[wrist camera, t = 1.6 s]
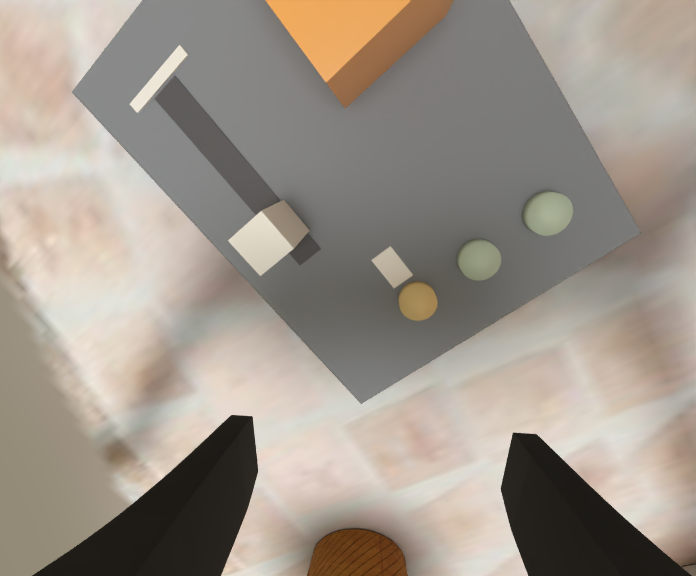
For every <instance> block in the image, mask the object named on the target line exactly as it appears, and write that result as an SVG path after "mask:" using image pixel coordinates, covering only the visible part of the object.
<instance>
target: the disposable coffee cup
mask: <svg viewBox="0 0 696 576" xmlns="http://www.w3.org/2000/svg"><path fill="white" fill-rule="evenodd" d="M307 576H408V575H407V570H406V564H405V557H404V555H403V553H402V551H401V550H400V549H399V547H398V546H397V545H396V544H395V543H394V542H392V541H391V540H390V539H388V538H386V537H385V536H383V535H380V534H377V533H375V532H371V531H367V530H359V529H347V530H341V531H337V532H334V533H332V534H329V535H327V536H326V537H324V538H323V539H322V540H321V541H320V542H319V543H318V544H317V545H316V547H315V549H314V552H313V556H312V560H311V564H310V567H309V571H308V574H307Z"/></svg>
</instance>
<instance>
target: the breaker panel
mask: <svg viewBox="0 0 696 576" xmlns="http://www.w3.org/2000/svg"><path fill="white" fill-rule="evenodd" d="M72 93H73V94H74V95H75V96H76V97H77V98H78V99H79V100H80V101H81V102H82V104H83V105H84V106H85V107H86V108H87V109H88V110H89V111H90V112H91V113H92V114H93V115H94V117H95V118H96V119H97V120H98V121H99V122H100V123H101V124H102V125H103V126H104V127H105V128H106V129H107V131H108V132H109V133H110V134H111V135H112V136H113V137H114V138H115V139H116V140H117V141H118V142H119V143H120V145H121V146H122V147H123V148H124V149H125V150H126V151H127V152H128V153H129V154H130V155H131V156H132V157H133V159H134V160H135V161H136V162H137V163H138V164H139V165H140V166H141V167H142V168H143V169H144V170H145V171H146V173H147V174H148V175H149V176H150V177H151V178H152V179H153V180H154V181H155V182H156V183H157V184H158V185H159V187H160V188H161V189H162V190H163V191H164V192H165V193H166V194H167V195H168V196H169V197H170V198H171V199H172V201H173V202H174V203H175V204H176V205H177V206H178V207H179V208H180V209H181V210H182V211H183V212H184V213H185V215H186V216H187V217H188V218H189V219H190V220H191V221H192V222H193V223H194V224H195V225H196V226H197V228H198V229H199V230H200V231H201V232H202V233H203V234H204V235H205V236H206V237H207V238H208V239H209V240H210V242H211V243H212V244H213V245H214V246H215V247H216V248H217V249H218V250H219V251H220V252H221V253H222V254H223V256H224V257H225V258H226V259H227V260H228V261H229V262H230V263H231V264H232V265H233V266H234V267H235V268H236V270H237V271H238V272H239V273H240V274H241V275H242V276H243V277H244V278H245V279H246V280H247V281H248V282H249V284H250V285H251V286H252V287H253V288H254V289H255V290H256V291H257V292H258V293H259V294H260V295H261V296H262V298H263V299H264V300H265V301H266V302H267V303H268V304H269V305H270V306H271V307H272V308H273V309H274V310H275V312H276V313H277V314H278V315H279V316H280V317H281V318H282V319H283V320H284V321H285V322H286V323H287V325H288V326H289V327H290V328H291V329H292V330H293V331H294V332H295V333H296V334H297V335H298V336H299V337H300V339H301V340H302V341H303V342H304V343H305V344H306V345H307V346H308V347H309V348H310V349H311V350H312V351H313V353H314V354H315V355H316V356H317V357H318V358H319V359H320V360H321V361H322V362H323V363H324V364H325V365H326V367H327V368H328V369H329V370H330V371H331V372H332V373H333V374H334V375H335V376H336V377H337V378H338V379H339V381H340V382H341V383H342V384H343V385H344V386H345V387H346V388H347V389H348V390H349V391H350V392H351V393H352V395H353V396H354V397H355V398H356V399H357V400H358V401H359V402H360V403H361V404H362V403H363V402H365V401H367V400H368V399H370V398H372V397H373V396H375V395H376V394H378V393H380V392H381V391H383V390H385V389H386V388H388V387H390V386H391V385H393V384H394V383H396V382H398V381H399V380H401V379H403V378H404V377H406V376H408V375H409V374H411V373H412V372H414V371H416V370H417V369H419V368H421V367H422V366H424V365H426V364H427V363H429V362H431V361H432V360H434V359H435V358H437V357H439V356H440V355H442V354H444V353H445V352H447V351H449V350H450V349H452V348H453V347H455V346H457V345H458V344H460V343H462V342H463V341H465V340H467V339H468V338H470V337H471V336H473V335H475V334H476V333H478V332H480V331H481V330H483V329H485V328H486V327H488V326H490V325H491V324H493V323H494V322H496V321H498V320H499V319H501V318H503V317H504V316H506V315H508V314H509V313H511V312H512V311H514V310H516V309H517V308H519V307H521V306H522V305H524V304H526V303H527V302H529V301H531V300H532V299H534V298H535V297H537V296H539V295H540V294H542V293H544V292H545V291H547V290H549V289H550V288H552V287H553V286H555V285H557V284H558V283H560V282H562V281H563V280H565V279H567V278H568V277H570V276H571V275H573V274H575V273H576V272H578V271H580V270H581V269H583V268H585V267H586V266H588V265H590V264H591V263H593V262H594V261H596V260H598V259H599V258H601V257H603V256H604V255H606V254H608V253H609V252H611V251H612V250H614V249H616V248H617V247H619V246H621V245H622V244H624V243H626V242H627V241H629V240H630V239H632V238H634V237H635V236H637V235H639V234H640V233H641V231H640V229H639V228H638V226H637V224H636V222H635V221H634V219H633V217H632V215H631V214H630V212H629V210H628V208H627V207H626V205H625V203H624V201H623V200H622V198H621V196H620V194H619V193H618V191H617V189H616V187H615V185H614V184H613V182H612V180H611V178H610V177H609V175H608V173H607V171H606V170H605V168H604V166H603V164H602V163H601V161H600V159H599V157H598V156H597V154H596V152H595V150H594V148H593V147H592V145H591V143H590V141H589V140H588V138H587V136H586V134H585V133H584V131H583V129H582V127H581V126H580V124H579V122H578V120H577V119H576V117H575V115H574V113H573V112H572V110H571V108H570V106H569V104H568V103H567V101H566V99H565V97H564V96H563V94H562V92H561V90H560V89H559V87H558V85H557V83H556V82H555V80H554V78H553V76H552V75H551V73H550V71H549V69H548V67H547V66H546V64H545V62H544V60H543V59H542V57H541V55H540V53H539V52H538V50H537V48H536V46H535V45H534V43H533V41H532V39H531V38H530V36H529V34H528V32H527V31H526V29H525V27H524V25H523V23H522V22H521V20H520V18H519V16H518V15H517V13H516V11H515V9H514V8H513V6H512V4H511V2H510V1H509V0H453V2H452V4H451V6H450V9H449V11H448V13H447V15H446V16H445V17H444V18H443V19H442V20H441V21H440V22H439V23H438V24H436V25H435V26H434V27H433V28H432V29H431V30H430V31H429V32H428V33H427V34H426V35H425V36H423V37H422V38H421V39H420V40H419V41H418V42H417V43H416V44H415V45H414V46H413V47H411V48H410V49H409V50H408V51H407V52H406V53H405V54H404V55H403V56H402V57H401V58H400V59H398V60H397V61H396V62H395V63H394V64H393V65H392V66H391V67H390V68H389V69H388V70H387V71H385V72H384V73H383V74H382V75H381V76H380V77H379V78H378V79H377V80H376V81H375V82H373V83H372V84H371V85H370V86H369V87H368V88H367V89H366V90H365V91H364V92H363V93H362V94H360V95H359V96H358V97H357V98H356V99H355V100H354V101H353V102H352V103H351V104H350V105H349V106H347V107H346V108H344V106H343V105H342V104H341V102H340V101H339V100H338V98H337V97H336V96H335V94H334V93H333V92H332V90H331V89H330V87H329V86H328V85H327V83H326V82H325V81H324V79H323V78H322V77H321V75H320V74H319V73H318V71H317V70H316V68H315V67H314V66H313V64H312V63H311V62H310V60H309V59H308V58H307V56H306V55H305V54H304V52H303V51H302V49H301V48H300V47H299V45H298V44H297V43H296V41H295V40H294V39H293V37H292V36H291V35H290V33H289V32H288V30H287V29H286V28H285V26H284V25H283V24H282V22H281V21H280V20H279V18H278V17H277V15H276V14H275V13H274V11H273V10H272V9H271V7H270V6H269V5H268V3H267V2H266V1H265V0H142V2H141V3H140V4H139V6H138V7H137V8H136V9H135V11H134V12H133V13H132V15H131V16H130V17H129V19H128V20H127V21H126V22H125V24H124V25H123V26H122V28H121V29H120V30H119V32H118V33H117V34H116V35H115V37H114V38H113V39H112V41H111V42H110V43H109V45H108V46H107V47H106V48H105V50H104V51H103V52H102V54H101V55H100V56H99V58H98V59H97V60H96V61H95V63H94V64H93V65H92V67H91V68H90V69H89V71H88V72H87V73H86V74H85V76H84V77H83V78H82V80H81V81H80V82H79V84H78V85H77V86H76V87H75V89H74V90H73V91H72ZM282 200H285V202H286V203H287V204H288V205H289V206H290V207H291V209H292V210H293V211H294V212H295V213H296V215H297V216H298V217H299V218H300V219H301V221H302V222H303V223H304V224H305V225H306V227H307V228H308V229H309V230H310V231H309V232H308V233H307V234H306V235H305V237H304V238H303V239H302V240H301V241H300V242H299V243H298V245H297V246H296V247H295V248H294V249H293V250H292V251H290V252H289V253H288V254H287V255H285V256H284V257H283V258H282V259H281V260H279V261H278V262H277V263H276V264H275V265H273V266H272V267H271V268H270V269H268V270H267V271H266V272H265V273H264V274H262V275H261V276H260V275H259V274H258V273H257V272H256V271H255V270H254V269H253V268H252V267H251V265H250V264H249V263H248V262H247V261H246V260H245V259H244V258H243V257H242V256H241V255H240V253H239V252H238V251H237V250H236V249H235V248H234V247H233V246H232V245H231V244H230V242H229V241H228V240H229V239H230V238H231V237H232V236H234V235H235V234H236V233H237V232H238V231H239V230H240V229H241V228H243V227H244V226H245V225H246V224H247V223H248V222H249V221H250V220H251V219H253V218H254V217H255V216H256V215H257V214H258V213H259V212H260V211H262V210H264V209H266V208H268V207H270V206H272V205H274V204H276V203H278V202H280V201H282Z"/></svg>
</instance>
